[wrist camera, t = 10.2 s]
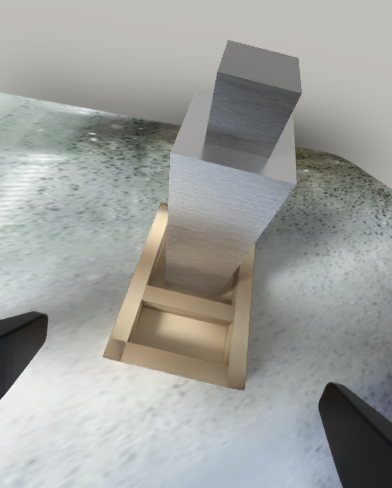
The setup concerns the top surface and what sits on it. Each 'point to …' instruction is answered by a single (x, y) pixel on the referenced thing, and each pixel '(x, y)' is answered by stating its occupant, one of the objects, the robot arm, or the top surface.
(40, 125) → the top surface
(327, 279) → the top surface
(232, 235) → the square bit
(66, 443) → the top surface
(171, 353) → the holder
